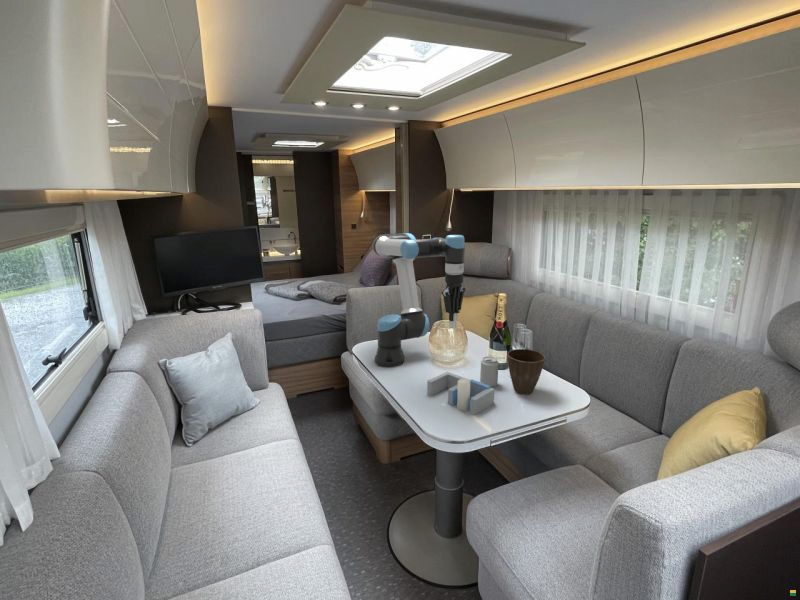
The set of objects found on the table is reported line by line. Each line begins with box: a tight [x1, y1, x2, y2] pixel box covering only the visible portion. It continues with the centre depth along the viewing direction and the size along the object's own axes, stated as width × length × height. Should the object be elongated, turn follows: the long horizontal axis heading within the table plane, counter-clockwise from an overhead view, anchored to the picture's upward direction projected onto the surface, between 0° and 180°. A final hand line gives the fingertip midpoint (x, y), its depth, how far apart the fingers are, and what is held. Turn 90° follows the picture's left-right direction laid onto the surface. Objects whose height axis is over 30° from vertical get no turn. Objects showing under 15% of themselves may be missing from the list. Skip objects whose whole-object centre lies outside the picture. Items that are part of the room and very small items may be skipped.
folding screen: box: [426, 371, 496, 416], centre depth 161 cm, size 24×13×7 cm, turn 44°
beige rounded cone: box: [456, 378, 471, 412], centre depth 154 cm, size 5×5×11 cm
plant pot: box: [507, 348, 546, 395], centre depth 166 cm, size 15×15×16 cm
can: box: [479, 355, 499, 388], centre depth 173 cm, size 8×8×12 cm
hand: (452, 327), depth 169 cm, fingers closed
